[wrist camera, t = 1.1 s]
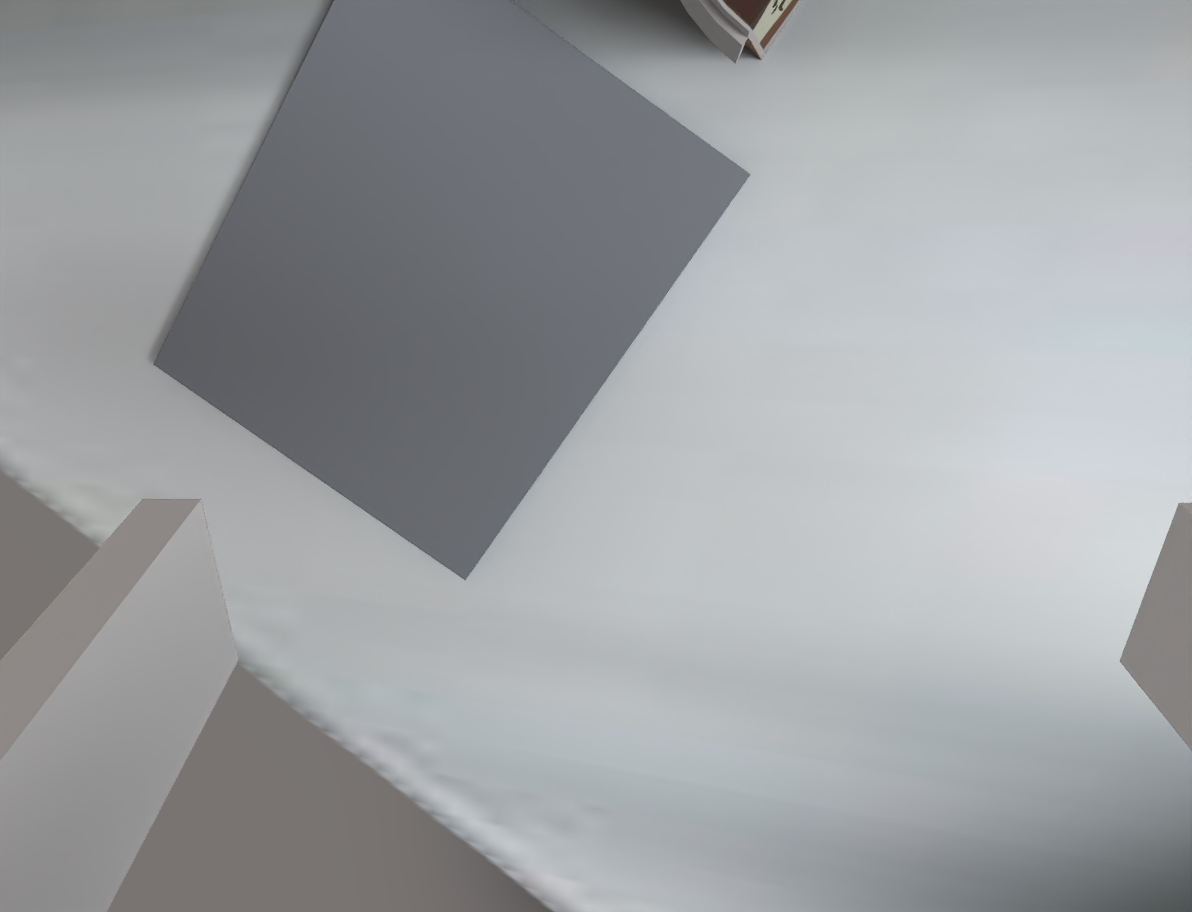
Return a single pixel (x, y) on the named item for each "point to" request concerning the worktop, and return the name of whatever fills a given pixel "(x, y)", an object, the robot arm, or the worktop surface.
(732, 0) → the food container
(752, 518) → the worktop surface
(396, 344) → the mat
